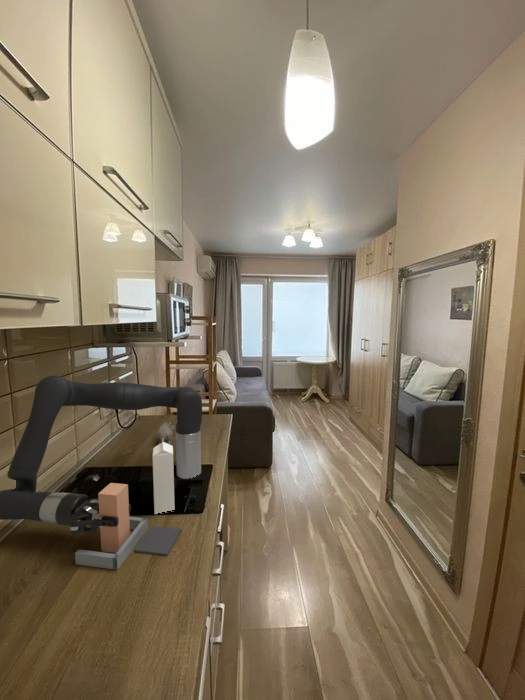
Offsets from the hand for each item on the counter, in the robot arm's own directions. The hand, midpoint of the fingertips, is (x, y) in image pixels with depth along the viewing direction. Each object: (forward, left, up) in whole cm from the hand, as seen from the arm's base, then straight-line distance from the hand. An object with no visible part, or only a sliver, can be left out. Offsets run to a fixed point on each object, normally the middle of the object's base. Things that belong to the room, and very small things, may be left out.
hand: (123, 514), depth 80 cm
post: (0, -3, -9) cm, 9 cm away
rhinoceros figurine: (-62, -17, -9) cm, 65 cm away
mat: (-3, +8, -9) cm, 12 cm away
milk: (-17, +3, -9) cm, 20 cm away
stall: (0, -3, -9) cm, 9 cm away
